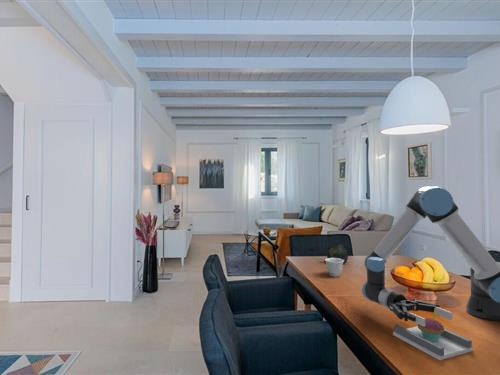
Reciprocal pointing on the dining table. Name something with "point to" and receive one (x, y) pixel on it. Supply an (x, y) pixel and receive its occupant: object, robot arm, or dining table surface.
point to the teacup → (334, 266)
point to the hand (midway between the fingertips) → (438, 319)
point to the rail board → (441, 349)
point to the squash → (338, 253)
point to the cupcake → (432, 329)
